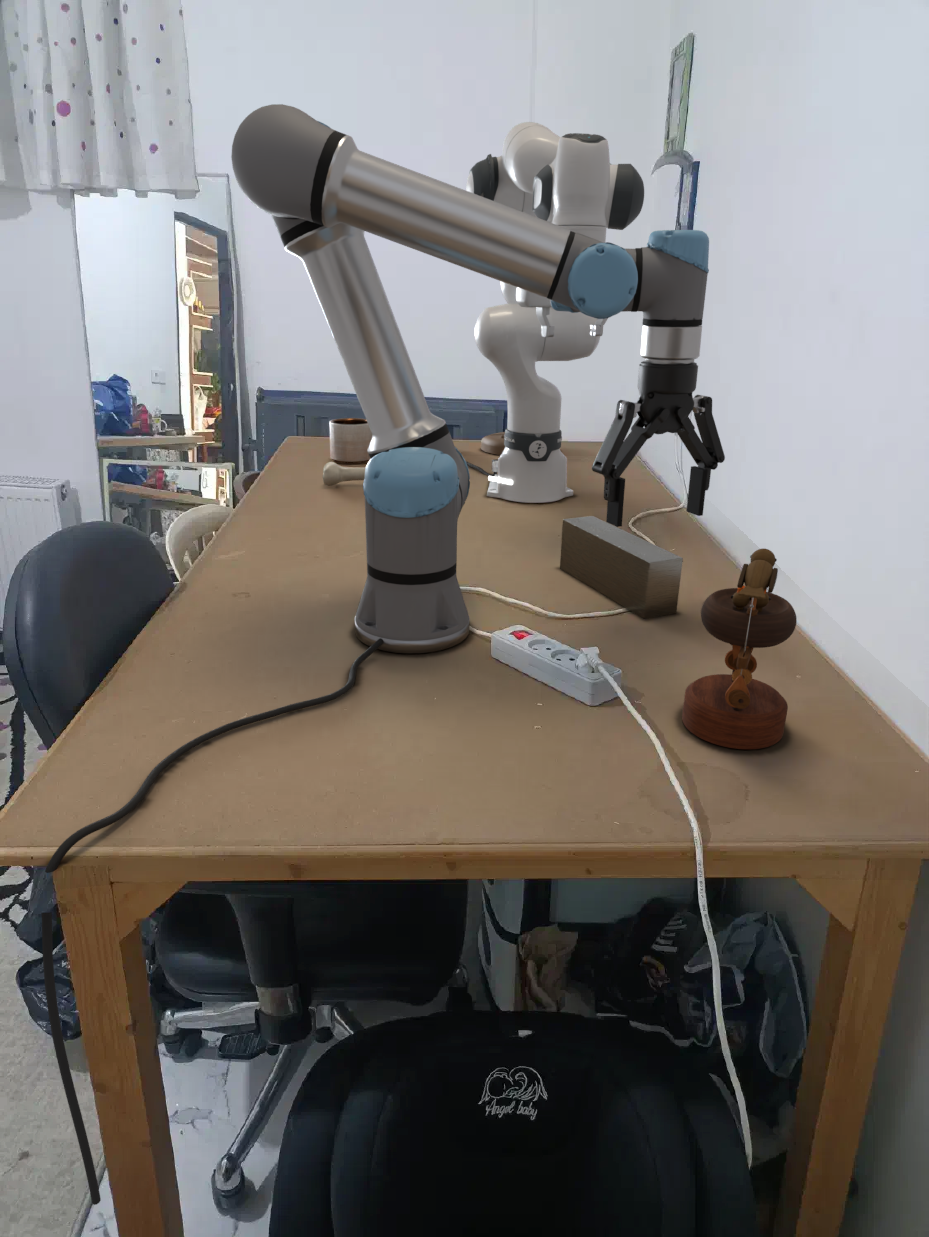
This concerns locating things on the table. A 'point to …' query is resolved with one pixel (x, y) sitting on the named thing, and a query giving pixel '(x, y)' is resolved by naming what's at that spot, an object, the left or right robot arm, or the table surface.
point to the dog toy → (341, 474)
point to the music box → (742, 662)
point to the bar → (621, 566)
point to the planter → (349, 440)
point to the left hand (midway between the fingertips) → (655, 519)
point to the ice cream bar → (493, 443)
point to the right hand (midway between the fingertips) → (572, 336)
